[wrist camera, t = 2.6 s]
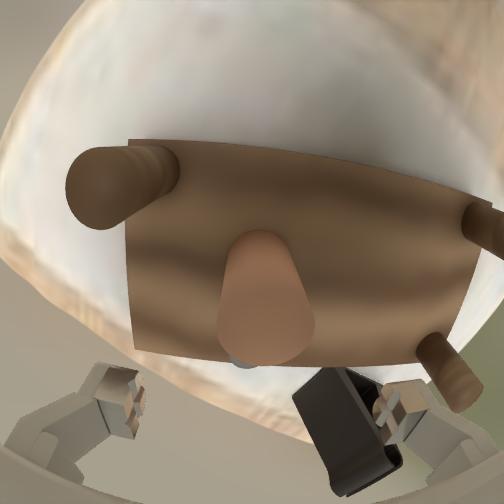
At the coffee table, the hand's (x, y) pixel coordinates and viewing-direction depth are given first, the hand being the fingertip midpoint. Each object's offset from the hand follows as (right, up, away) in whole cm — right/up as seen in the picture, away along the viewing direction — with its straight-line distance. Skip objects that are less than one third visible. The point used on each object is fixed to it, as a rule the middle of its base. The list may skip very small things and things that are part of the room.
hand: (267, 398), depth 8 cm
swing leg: (0, +1, +11) cm, 11 cm away
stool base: (+5, +4, +14) cm, 15 cm away
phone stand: (+9, -10, +19) cm, 24 cm away
